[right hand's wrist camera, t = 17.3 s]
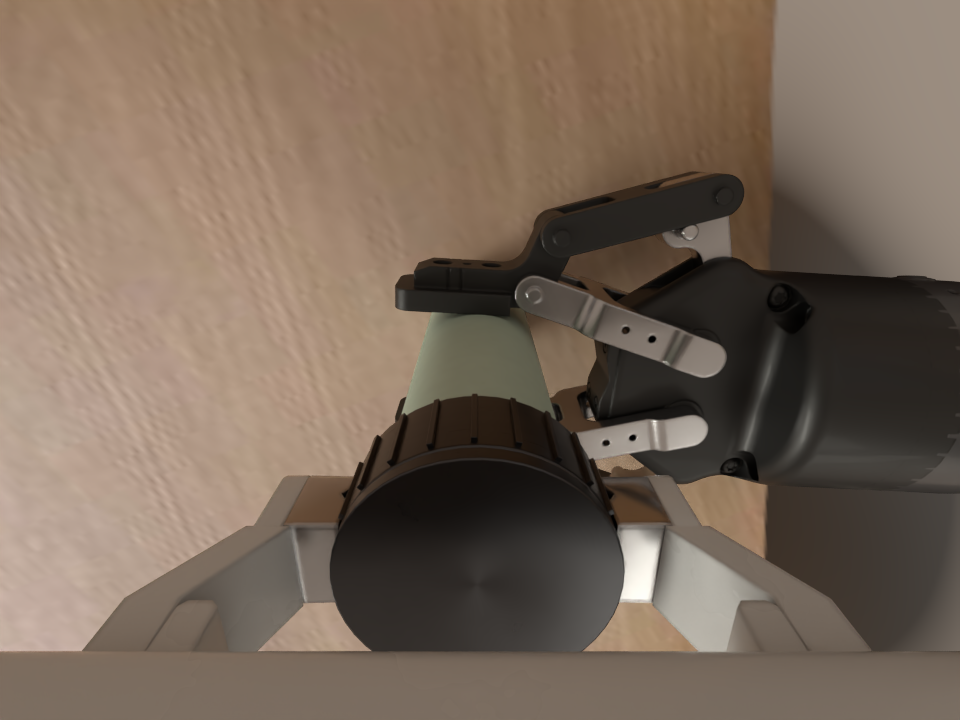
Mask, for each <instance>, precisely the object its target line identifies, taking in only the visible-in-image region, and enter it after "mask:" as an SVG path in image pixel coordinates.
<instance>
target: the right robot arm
mask: <svg viewBox="0 0 960 720" xmlns="http://www.w3.org/2000/svg"><path fill="white" fill-rule="evenodd" d="M601 479H602V481H603V484H604V487H605V489H606V492H607V494H608V497H609V500H610V502H611V505H612V508H613V510H614V513H615V514H613V515H611V518H612V521H613V523H614V527H615V529H616V532H617V534H618V537H619V540H620V543H621V547H622V551H623V555H624V566H625V575H624V586H623V590H622V594H621V597H620V601H619V602H632V603H653V606H654V607H655V608H656V609H657V610H658V611H659V612H660V613H661V614H662V615H663V616H664V617H665V618H666V619H667V620H668V621H669V622H670V623H671V624H672V625H673V626H674V627H675V628H676V629H677V630H678V631H679V632H680V633H681V634H682V635H683V636H684V637H685V638H686V639H687V640H688V641H689V642H690V643H691V644H692V645H693V646H694V647H695V648H696V649H697V650H698V651H661V652H512V651H258V650H259V649H260V648H261V647H262V646H263V645H264V644H265V643H266V642H267V641H268V640H269V639H270V638H271V637H272V636H273V635H274V634H275V633H276V632H277V631H278V630H279V629H280V628H281V627H282V626H283V625H284V624H285V623H286V622H287V621H288V620H289V619H290V618H291V617H292V616H293V615H294V614H295V613H296V612H297V611H298V610H299V609H300V608H301V607H302V606H303V603H324V602H335V600H334V597H333V594H332V589H331V584H330V567H329V564H330V558H331V551H332V547H333V544H334V541H335V538H336V535H337V533H338V530H339V527H340V525H341V522H342V520H341V519H338V516H339V514H340V511H341V508H342V506H343V503H344V501H345V498H346V495H347V493H348V490H349V488H350V485H351V482H352V480H353V477H351V476H286V477H284V478H283V479H282V481H281V482H280V484H279V486H278V487H277V489H276V491H275V492H274V494H273V495H272V497H271V499H270V500H269V502H268V504H267V505H266V507H265V508H264V510H263V512H262V513H261V515H260V516H259V518H258V520H257V521H256V523H255V525H254V526H245V527H244V528H242V529H240V530H239V531H237V532H235V533H234V534H232V535H230V536H229V537H227V538H225V539H224V540H222V541H220V542H218V543H217V544H215V545H213V546H212V547H210V548H208V549H207V550H205V551H203V552H202V553H200V554H198V555H197V556H195V557H193V558H191V559H190V560H188V561H186V562H185V563H183V564H181V565H180V566H178V567H176V568H175V569H173V570H171V571H170V572H168V573H166V574H164V575H163V576H161V577H159V578H158V579H156V580H154V581H153V582H151V583H149V584H148V585H146V586H144V587H142V588H141V589H139V590H137V591H136V592H134V593H132V594H131V595H129V596H127V597H126V598H124V600H123V601H122V602H121V603H120V604H119V606H118V607H117V608H116V609H115V611H114V612H113V613H112V614H111V616H110V617H109V618H108V619H107V621H106V622H105V623H104V624H103V626H102V627H101V628H100V629H99V631H98V632H97V633H96V634H95V635H94V637H93V638H92V639H91V640H90V642H89V643H88V644H87V645H86V647H85V648H84V649H83V650H82V651H0V720H960V651H872V650H871V649H870V648H869V647H868V645H867V644H866V643H865V641H864V640H863V639H862V638H861V636H860V635H859V634H858V633H857V631H856V630H855V629H854V628H853V626H852V625H851V624H850V622H849V621H848V620H847V619H846V617H845V616H844V615H843V614H842V612H841V611H840V610H839V609H838V607H837V606H836V605H835V603H834V602H833V601H832V600H831V599H830V598H829V597H827V596H825V595H824V594H822V593H820V592H819V591H817V590H815V589H814V588H812V587H810V586H809V585H807V584H805V583H804V582H802V581H800V580H799V579H797V578H795V577H794V576H792V575H790V574H789V573H787V572H785V571H784V570H782V569H780V568H779V567H777V566H775V565H774V564H772V563H770V562H769V561H767V560H765V559H764V558H762V557H760V556H759V555H757V554H755V553H754V552H752V551H750V550H749V549H747V548H745V547H744V546H742V545H740V544H739V543H737V542H735V541H734V540H732V539H730V538H729V537H727V536H725V535H724V534H722V533H720V532H719V531H717V530H715V529H713V528H712V527H710V526H702V525H701V524H700V522H699V520H698V519H697V517H696V515H695V514H694V512H693V510H692V509H691V507H690V506H689V504H688V502H687V501H686V499H685V497H684V496H683V494H682V492H681V491H680V489H679V488H678V486H677V484H676V483H675V481H674V479H673V478H672V477H670V476H669V475H661V476H644V477H601Z"/></svg>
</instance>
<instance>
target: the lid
mask: <svg viewBox="0 0 960 720" xmlns="http://www.w3.org/2000/svg"><path fill="white" fill-rule="evenodd" d="M613 514H615V513H614V510H613V508H612V505H611V502H610V500H609V497H608V494H607V492H606V489H605V487H604V484H603V481H602V479H601V476H600V473H599V471H598V468H597V465H596V463H595V460H594V458H591V459H589V457H588V455H587V453H586V452H585V450H584V449H583V447H582V445H581V444H580V441H579V438H578V435H577V434H576V433H575V432H573V433H571V432H570V431H569V430H568V429H566V428H565V427H564V426H563V425H562V424H561V423H559V422H558V421H557V420H555V419H554V418H552V417H551V414H550V412H548V411H545V412H542V411H540V410H538V409H536V408H534V407H532V406H529V405H526V404H523V403H520V402H517V401H516V398H512V397H511V398H510V399H505V398H500V397H491V396H478V394H472V396H462V397H456V398H449V399H445V400H441V401H440V400H439V399H436V400H434V403H431V404H428V405H426V406H424V407H421V408H419V409H416V410H414V411H413V412H411V413H409V414H408V415H406V414H405V413H403V414H402V415H400V418H399V420H398V421H397V422H396V423H394V424H393V425H392V426H390V427H389V428H388V429H387V430H386V431H385V432H384V433H383V434H382V435H381V436H378V435H377V436H376V437H375V438H374V440H373V443H372V446H371V449H370V451H369V453H368V455H367V457H366V459H365V461H364V463H362V462H359V464H358V467H357V469H356V472H355V475H354V477H353V480H352V482H351V485H350V488H349V490H348V493H347V495H346V498H345V501H344V503H343V506H342V508H341V511H340V514H339V516H338V519H341V520H342V522H341V525H340V527H339V530H338V533H337V535H336V538H335V541H334V544H333V547H332V551H331V558H330V564H329V567H330V584H331V589H332V594H333V597H334V600H335V603H336V606H337V608H338V611H339V612H340V614H341V616H342V618H343V620H344V621H345V623H346V624H347V626H348V627H349V628H350V630H351V631H352V632H353V634H354V635H355V636H356V637H357V638H358V639H359V640H360V641H361V642H362V643H363V644H364V645H365V646H366V647H367V648H369V649H370V650H371V651H512V652H581V651H583V650H584V649H585V648H586V647H587V646H589V645H590V644H591V643H592V642H593V641H594V640H595V639H596V638H597V637H598V636H599V634H600V633H601V632H602V631H603V630H604V629H605V627H606V626H607V624H608V623H609V621H610V620H611V618H612V616H613V615H614V613H615V610H616V608H617V606H618V603H619V601H620V597H621V594H622V590H623V586H624V575H625V566H624V555H623V551H622V547H621V543H620V540H619V537H618V534H617V532H616V529H615V527H614V523H613V521H612V518H611V515H613Z"/></svg>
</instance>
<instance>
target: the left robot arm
mask: <svg viewBox="0 0 960 720" xmlns="http://www.w3.org/2000/svg"><path fill="white" fill-rule="evenodd" d="M743 197H744V187H743V184H742V182H741V181H740V180H739V179H738V178H737V177H735V176H733V175H729V174H717V173H706V172H688V173H684V174H681V175H677V176H673V177H669V178H665V179H662V180H658V181H654V182H650V183H646V184H643V185H639V186H635V187H631V188H627V189H624V190H620V191H616V192H612V193H608V194H605V195H601V196H597V197H593V198H590V199H586V200H582V201H578V202H574V203H571V204H567V205H563V206H559V207H555V208H552V209H548V210H545V211H543V212H542V213H540V214H539V215H538V217H537V218H536V220H535V223H534V230H533V232H532V234H531V236H530V238H529V240H528V243H527V245H526V247H525V249H524V251H523V252H522V253H521V254H520V255H519V256H518V257H517V258H515V259H513V260H511V261H507V262H497V261H480V260H461V259H447V258H431V259H428V260H425V261H422V262H419V263H418V265H417V267H416V269H415V271H414V274H409V275H403V276H401V277H400V279H399V280H398V282H397V284H396V285H395V307H396V308H397V309H400V310H405V311H419V312H437V313H454V314H472V315H489V316H507V317H510V308H521V309H522V310H523V311H525V312H528V313H530V314H533V315H536V316H539V317H542V318H545V319H548V320H551V321H554V322H557V323H560V324H563V325H566V326H568V327H571V328H574V329H576V330H578V331H579V332H581V333H582V334H584V335H585V336H587V337H590V338H592V339H594V340H595V348H596V356H597V358H596V361H595V363H594V366H593V368H592V370H591V372H590V374H589V377H588V382H587V385H583V386H578V387H573V388H568V389H563V390H561V391H559V392H557V393H556V394H555V395H554V396H553V397H551V398H550V401H551V404H552V408H553V411H554V415H555V418H556V420H557V421H558V422H559V423H561V424H562V425H563V426H564V427H565V428H566V429H568V430H569V431H570V432H571V433H573V432H575V433H576V434H577V435H578V438H579V441H580V444H581V445H582V447H583V449H584V450H585V452H586V453H587V455H588V457H589V459H591V458H594V460H600V459H605V458H610V457H616V456H621V455H626V454H630V455H631V456H632V457H634V458H635V459H636V460H638V461H639V462H640V463H642V464H643V465H644V467H642V468H640V469H637V470H628V469H623V468H622V467H620V466H616V467H614V468H613V469H612V471H611V473H609V472H606V471H603V470H600V469H598V471H599V473H600V476H601V477H644V476H661V475H669V476H670V477H672V478H673V479H674V481H675V483H676V484H688V483H692V482H694V481H697V480H700V479H702V478H705V477H709V476H714V475H727V476H732V477H736V478H740V479H744V480H747V481H751V482H755V483H759V484H765V485H778V486H800V487H820V488H840V489H861V490H885V491H904V492H923V493H960V282H954V281H938V280H935V279H931V278H927V277H925V276H897V277H893V278H888V277H870V276H851V275H834V274H818V273H800V272H784V271H768V270H757V269H753V268H752V267H751V266H749V265H748V264H747V263H745V262H744V261H742V260H740V259H737V258H733V257H732V251H731V237H730V223H729V215H731V214H732V213H734V212H735V211H736V210H737V209H738V208H739V206H740V205H741V203H742V201H743ZM652 235H655V236H656V238H657V239H658V240H659V241H661V242H663V243H665V244H667V245H669V246H671V247H673V248H688V249H689V250H690V252H691V254H692V257H691V258H689V259H688V260H686V261H684V262H682V263H681V264H679V265H677V266H676V267H674V268H672V269H670V270H669V271H667V272H665V273H664V274H662V275H660V276H658V277H657V278H655V279H653V280H652V281H650V282H648V283H646V284H645V285H643V286H641V287H640V288H638V289H636V290H634V291H633V292H631V293H627V292H624V291H621V290H618V289H616V288H613V287H610V286H607V285H604V284H602V283H599V282H596V281H593V280H590V279H587V278H584V277H576V276H573V275H570V274H567V273H564V272H563V270H564V268H565V266H566V264H567V262H568V260H569V258H570V256H573V255H577V254H581V253H585V252H589V251H593V250H597V249H601V248H605V247H609V246H613V245H617V244H620V243H624V242H628V241H632V240H636V239H640V238H644V237H648V236H652ZM405 401H406V397H405V398H403V399H401V401H400V403H399V407H398V410H397V413H396V416H395V423H396V422H397V421H398V420H399V418H400V415H401V414H402V411H403V407H404V404H405ZM591 417H594V418H595V420H596V421H590V420H587V419H588V418H591Z"/></svg>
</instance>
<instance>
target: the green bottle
mask: <svg viewBox="0 0 960 720" xmlns="http://www.w3.org/2000/svg"><path fill="white" fill-rule="evenodd" d="M472 394H478V396H491V397H500V398H505V399H510V398H511V397H512V398H516V401H517V402H520V403H523V404H526V405H529V406H532V407H534V408H536V409H538V410H540V411H542V412H545V411H548V412H550V414H551V417H552V418H554V419H555V420H556V418H555V415H554V411H553V408H552V404H551V401H550V397H549V394H548V390H547V387H546V384H545V380H544V377H543V373H542V370H541V366H540V363H539V359H538V356H537V352H536V349H535V345H534V342H533V338H532V335H531V331H530V328H529V324H528V321H527V318H526V314H525V311H523V310H522V309H521V308H510V317H507V316H489V315H472V314H454V313H437V312H432V313H431V317H430V320H429V324H428V327H427V330H426V334H425V337H424V340H423V344H422V347H421V350H420V354H419V357H418V360H417V364H416V367H415V371H414V374H413V377H412V381H411V384H410V387H409V391H408V394H407V397H406V401H405V404H404V407H403V411H402V414H403V413H405V414H406V415H408V414H409V413H411V412H413V411H414V410H416V409H419V408H421V407H424V406H426V405H428V404H431V403H434V400H436V399H439V400H440V401H441V400H445V399H449V398H456V397H462V396H472ZM402 414H401V415H402Z"/></svg>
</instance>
